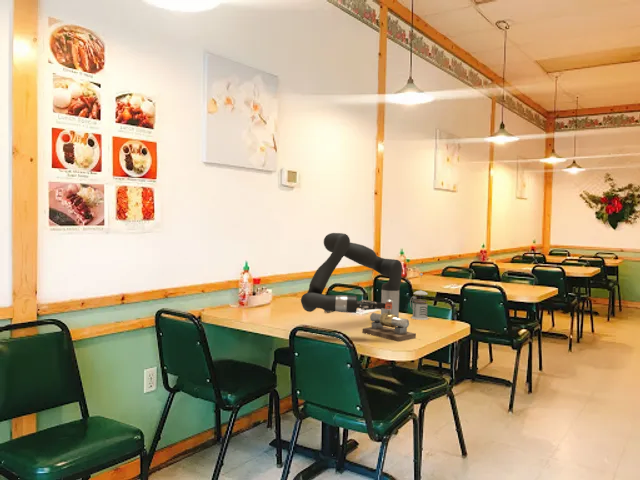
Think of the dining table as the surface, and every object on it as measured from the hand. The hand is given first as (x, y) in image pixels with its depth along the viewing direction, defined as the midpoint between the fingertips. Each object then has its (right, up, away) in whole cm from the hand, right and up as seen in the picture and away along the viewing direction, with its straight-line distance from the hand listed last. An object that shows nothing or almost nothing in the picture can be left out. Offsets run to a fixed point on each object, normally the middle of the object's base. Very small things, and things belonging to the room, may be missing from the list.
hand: (385, 305), depth 227 cm
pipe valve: (+3, -13, +12) cm, 18 cm away
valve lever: (+2, -1, +5) cm, 6 cm away
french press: (+26, -14, +58) cm, 65 cm away
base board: (+3, -15, +12) cm, 19 cm away
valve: (-21, -13, +79) cm, 82 cm away
